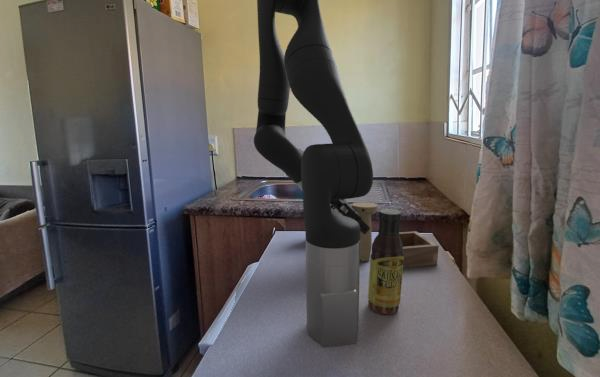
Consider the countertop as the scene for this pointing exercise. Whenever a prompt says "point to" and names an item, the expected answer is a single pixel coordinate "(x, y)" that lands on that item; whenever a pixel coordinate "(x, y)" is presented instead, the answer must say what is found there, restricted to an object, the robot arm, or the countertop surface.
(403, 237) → the open wooden box
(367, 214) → the handle
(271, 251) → the countertop surface
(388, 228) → the sauce bottle
